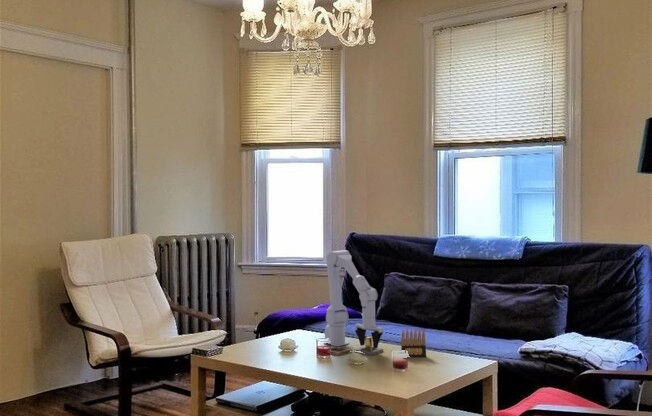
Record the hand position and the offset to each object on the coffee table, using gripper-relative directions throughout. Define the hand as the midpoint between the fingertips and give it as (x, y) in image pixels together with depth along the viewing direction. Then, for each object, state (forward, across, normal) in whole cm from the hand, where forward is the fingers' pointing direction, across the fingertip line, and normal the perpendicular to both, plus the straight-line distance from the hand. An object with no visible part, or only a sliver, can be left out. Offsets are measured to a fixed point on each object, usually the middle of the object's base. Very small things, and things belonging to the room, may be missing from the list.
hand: (368, 346), depth 291 cm
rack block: (+2, -10, -10) cm, 14 cm away
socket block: (+2, 0, 0) cm, 2 cm away
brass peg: (+2, 0, 0) cm, 2 cm away
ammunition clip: (+3, +20, +6) cm, 21 cm away
